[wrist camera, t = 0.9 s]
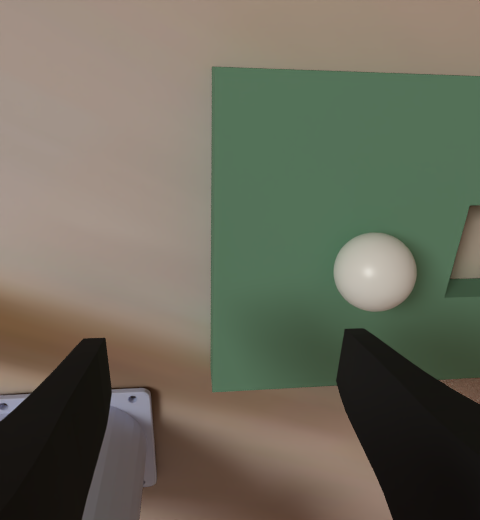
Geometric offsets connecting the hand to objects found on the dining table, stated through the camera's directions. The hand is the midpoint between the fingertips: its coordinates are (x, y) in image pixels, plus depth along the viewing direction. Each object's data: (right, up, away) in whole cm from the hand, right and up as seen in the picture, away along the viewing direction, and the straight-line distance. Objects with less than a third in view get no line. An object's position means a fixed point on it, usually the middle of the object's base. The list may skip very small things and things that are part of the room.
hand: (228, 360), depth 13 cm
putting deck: (+8, +4, +10) cm, 13 cm away
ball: (+6, +3, +6) cm, 9 cm away
